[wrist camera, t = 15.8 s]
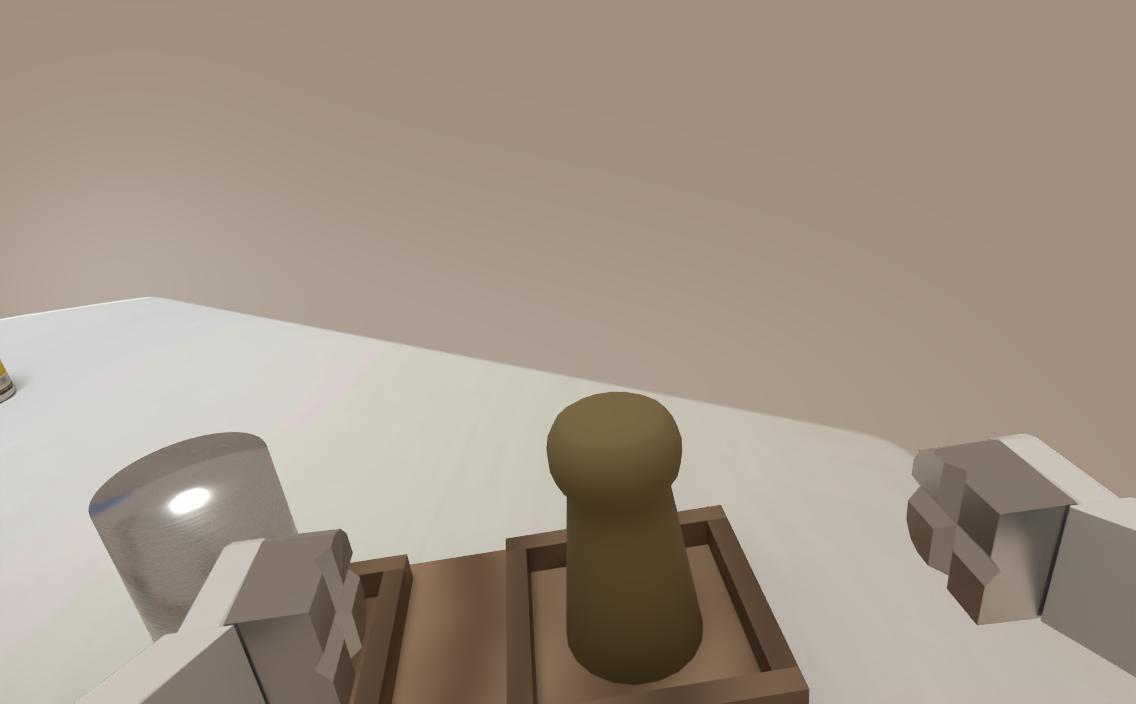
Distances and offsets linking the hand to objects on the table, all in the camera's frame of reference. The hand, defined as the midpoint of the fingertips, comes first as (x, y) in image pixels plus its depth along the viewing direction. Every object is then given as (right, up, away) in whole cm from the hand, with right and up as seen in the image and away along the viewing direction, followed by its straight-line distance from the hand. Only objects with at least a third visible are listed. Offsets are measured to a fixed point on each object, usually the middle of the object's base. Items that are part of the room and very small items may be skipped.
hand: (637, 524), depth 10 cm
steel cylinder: (-14, -12, +20) cm, 27 cm away
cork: (+2, -10, +21) cm, 23 cm away
